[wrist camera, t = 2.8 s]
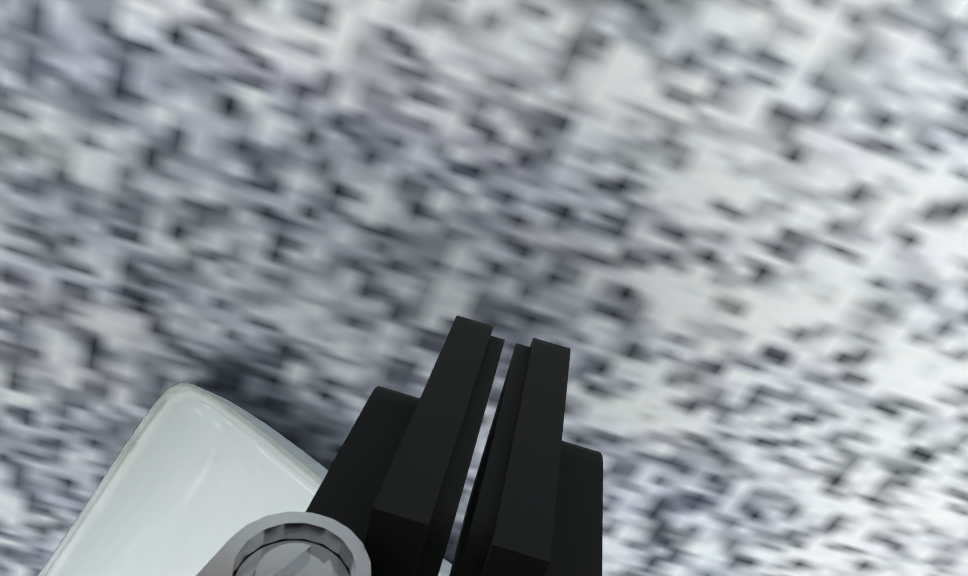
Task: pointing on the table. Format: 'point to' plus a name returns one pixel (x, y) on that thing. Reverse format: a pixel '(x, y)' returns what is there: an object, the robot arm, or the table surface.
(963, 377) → the table surface
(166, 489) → the square plate
